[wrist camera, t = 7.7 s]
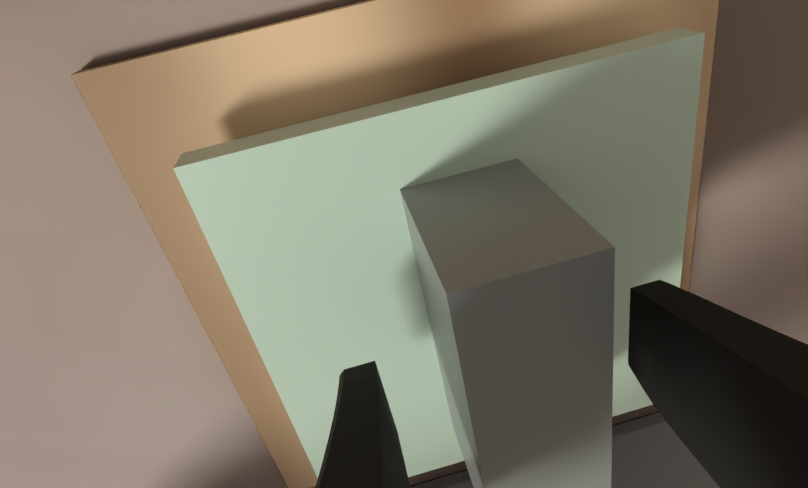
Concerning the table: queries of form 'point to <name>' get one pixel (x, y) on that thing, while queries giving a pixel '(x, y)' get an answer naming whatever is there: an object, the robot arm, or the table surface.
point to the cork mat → (324, 96)
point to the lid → (466, 254)
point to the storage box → (633, 459)
